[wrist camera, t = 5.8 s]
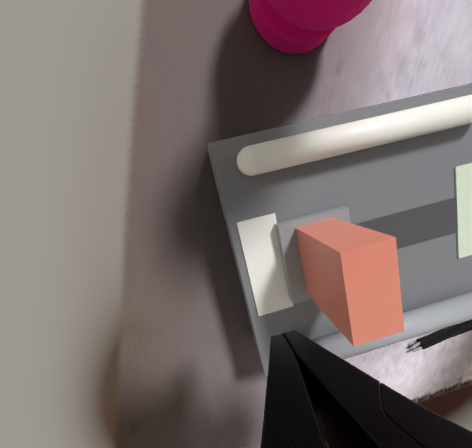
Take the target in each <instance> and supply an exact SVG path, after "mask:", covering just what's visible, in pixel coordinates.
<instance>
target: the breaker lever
mask: <svg viewBox="0 0 472 448" xmlns="http://www.w3.org/2000/svg"><path fill="white" fill-rule="evenodd" d="M275 226H276V231H277V236H278V241H279V246H280V251H281V256H282V261H283V266H284V271H285V276H286V281H287V286H288V291H289V296H290V300H291V301H292V303H293V304H297V303H300V302H304V301H307V300H311V299H312V300H313V301H314V302H315V303H316V304H317V306H318V307H319V308H320V309H321V310H322V311H323V312H324V314H325V315H326V316H327V317H328V318H329V319H330V320H331V321H332V323H333V324H334V325H335V326H336V327H337V328H338V329H339V331H340V332H341V333H342V334H343V335H344V336H345V337H346V338H347V340H348V341H349V342H350V343H351V344H352V345H353V346H358V345H361V344H364V343H367V342H371V341H374V340H377V339H380V338H384V337H387V336H390V335H393V334H397V333H400V332H403V331H404V322H403V311H402V300H401V289H400V278H399V267H398V256H397V245H396V237H394V236H391V235H387V234H384V233H381V232H378V231H374V230H371V229H368V228H365V227H362V226H358V225H355V224H352V223H350V215H349V208H348V207H345V206H341V207H337V208H333V209H330V210H326V211H322V212H318V213H314V214H310V215H306V216H302V217H299V218H295V219H291V220H287V221H283V222H279V223H275Z"/></svg>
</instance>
